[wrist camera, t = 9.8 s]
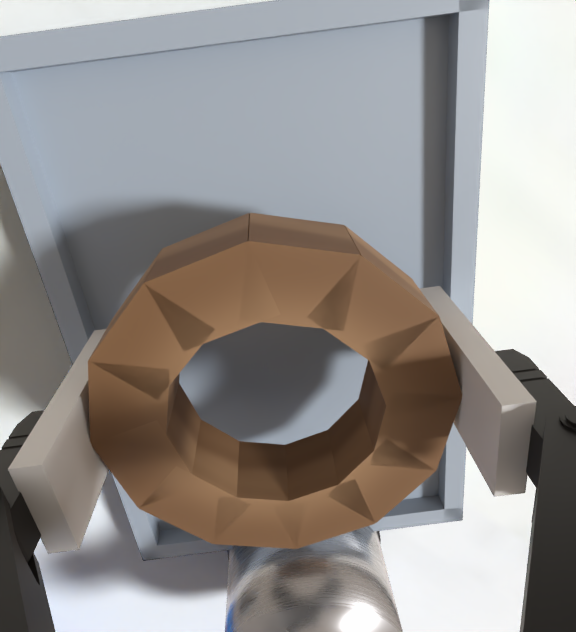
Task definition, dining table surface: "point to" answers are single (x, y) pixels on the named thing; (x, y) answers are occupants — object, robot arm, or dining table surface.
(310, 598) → the metal peg stand
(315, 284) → the ring
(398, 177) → the tray
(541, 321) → the dining table surface
